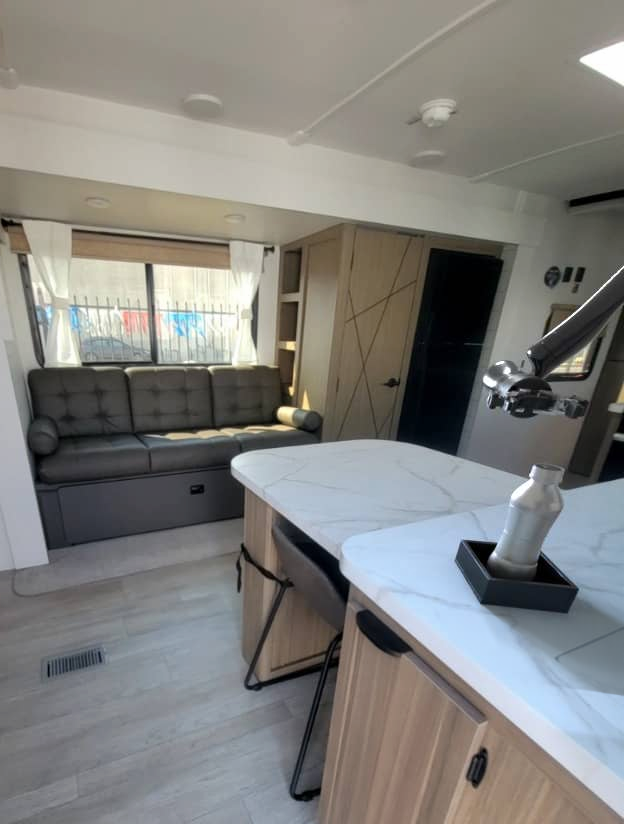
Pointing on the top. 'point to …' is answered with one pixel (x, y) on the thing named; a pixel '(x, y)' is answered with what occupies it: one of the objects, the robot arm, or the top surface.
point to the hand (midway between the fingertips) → (544, 410)
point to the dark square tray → (515, 581)
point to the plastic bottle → (528, 524)
